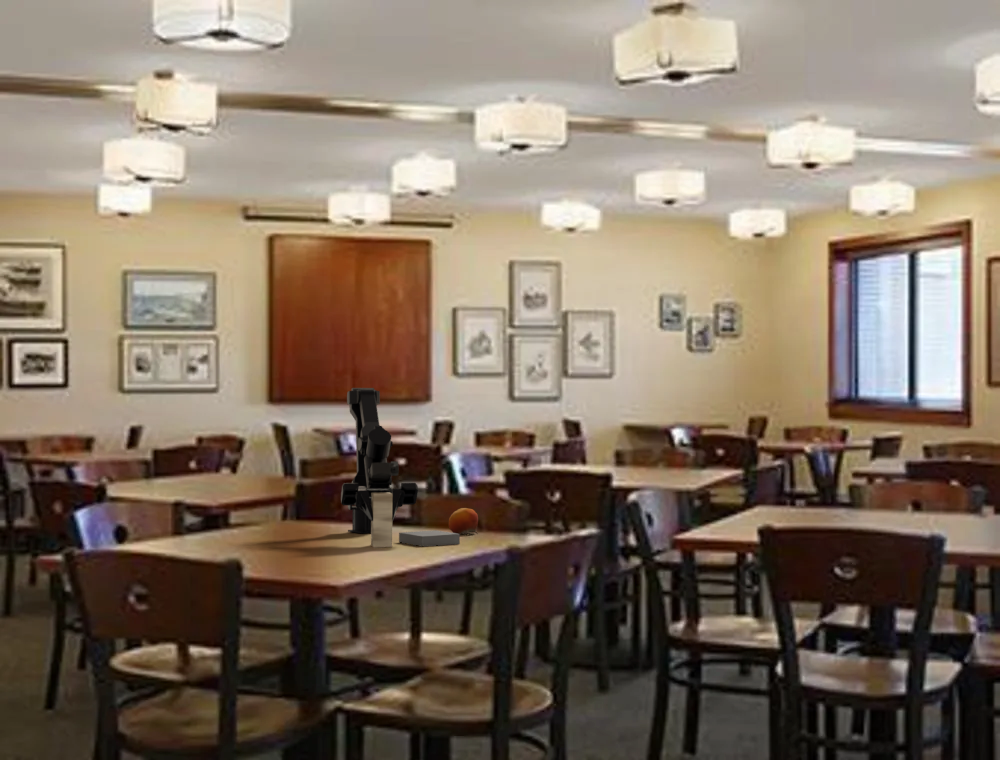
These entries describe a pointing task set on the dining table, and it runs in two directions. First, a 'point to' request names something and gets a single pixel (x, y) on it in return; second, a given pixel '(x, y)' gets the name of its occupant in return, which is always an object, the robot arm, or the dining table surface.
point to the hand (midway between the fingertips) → (382, 519)
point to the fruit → (463, 521)
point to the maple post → (381, 519)
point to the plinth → (429, 538)
